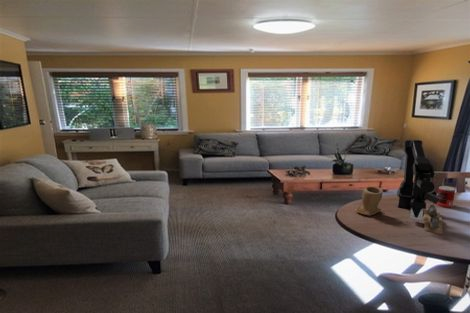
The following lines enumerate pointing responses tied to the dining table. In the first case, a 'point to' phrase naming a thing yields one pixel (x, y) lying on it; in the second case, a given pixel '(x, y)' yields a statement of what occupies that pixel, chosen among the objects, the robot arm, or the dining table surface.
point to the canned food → (446, 196)
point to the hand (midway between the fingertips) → (416, 215)
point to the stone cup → (370, 201)
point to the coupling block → (418, 215)
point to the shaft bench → (427, 223)
